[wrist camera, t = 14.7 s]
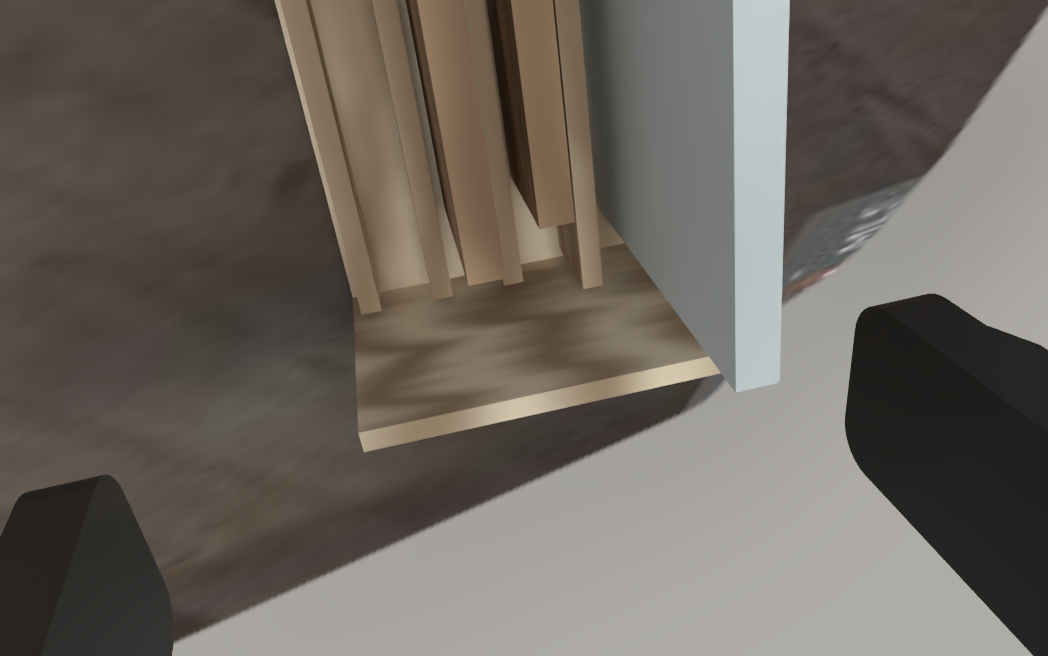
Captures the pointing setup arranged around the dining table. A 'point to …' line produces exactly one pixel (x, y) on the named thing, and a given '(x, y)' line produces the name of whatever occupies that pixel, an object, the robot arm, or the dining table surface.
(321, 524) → the dining table surface
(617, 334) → the rack
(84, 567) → the robot arm
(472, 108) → the offcut
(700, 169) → the blue-grey flat rectangular block
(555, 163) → the offcut
